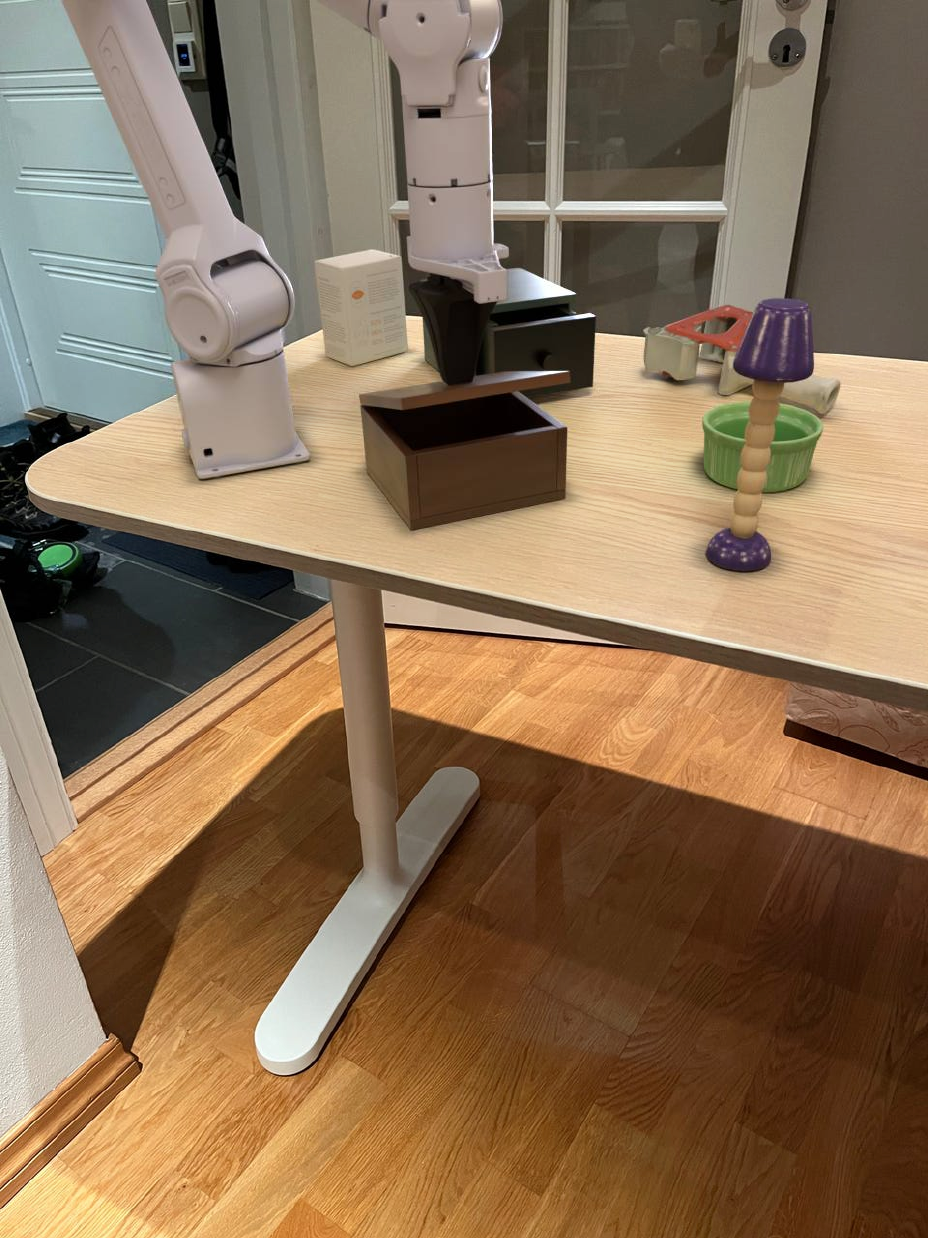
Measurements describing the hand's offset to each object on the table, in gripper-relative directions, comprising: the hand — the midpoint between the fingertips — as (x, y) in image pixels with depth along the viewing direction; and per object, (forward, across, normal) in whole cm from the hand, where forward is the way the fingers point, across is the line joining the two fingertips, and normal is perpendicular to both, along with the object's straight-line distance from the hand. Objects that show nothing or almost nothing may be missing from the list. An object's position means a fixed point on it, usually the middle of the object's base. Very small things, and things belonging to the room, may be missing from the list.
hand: (457, 380), depth 68 cm
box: (+8, 0, 0) cm, 8 cm away
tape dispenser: (+9, +11, -33) cm, 36 cm away
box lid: (+1, 0, 0) cm, 1 cm away
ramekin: (+9, -8, -22) cm, 25 cm away
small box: (+9, +38, -3) cm, 39 cm away
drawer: (+8, +19, -14) cm, 25 cm away
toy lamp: (+9, -19, -13) cm, 25 cm away
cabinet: (+8, +26, -14) cm, 30 cm away
